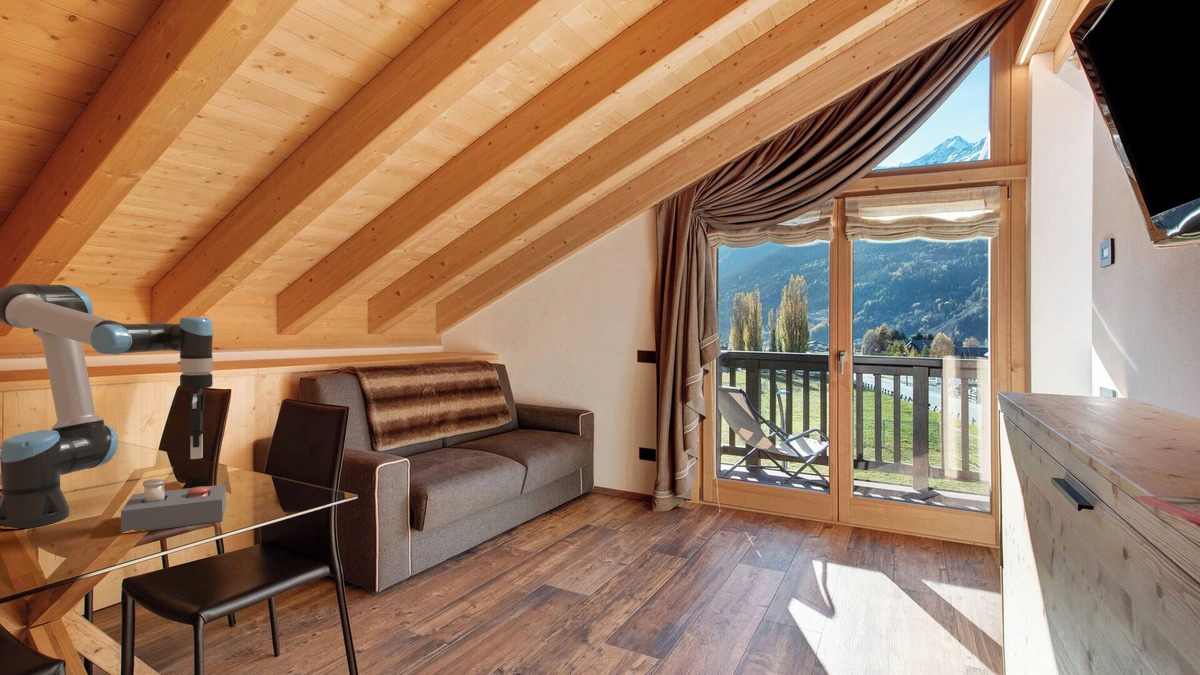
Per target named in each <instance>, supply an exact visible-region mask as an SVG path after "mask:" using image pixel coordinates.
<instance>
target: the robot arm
mask: <svg viewBox="0 0 1200 675" xmlns="http://www.w3.org/2000/svg"><path fill="white" fill-rule="evenodd" d="M93 312H94V307H93V302H92V300H91V298H90V297H89V296H88V294H87V293H86V292H85V291H83V290H82V289H80V288H79V287H75V286H71V285H63V284H37V283H36V284H33V283H28V284H27V283H14V284H9V285H7V286H3V287H2V288H0V323H2V324H4V325H7V326H9V327H12V328H13V327H14V328H17V329H22V330H23V329H31V328H32V332H33V335H34V336H36V337H38V338H40V339H41V343H42V347H43V352H44V357H45V363H46V369H47V373H48V378H49V384H50V388H51V393H52V399H53V400H52V401H53V404H54V411H55V415H56V419H57V420H56V422H55V423H54V424H53V425H52V427H51V429H44V430H43V429H42V430H41V429H40V430H36V431H29V432H24V433H19V434H16V435H14V436H11V437H9V438H7V439H5V440H4V441H3V442H2V444H1V445H0V477H1V479H0V480H1V485H0V486H1V497H0V526H4V527H11V528H12V527H13V528H25V529H30V528H37V527H42V526H46V525H50V524H53V523H56V522H60V521H62V520H64V519H66V518H68V517H69V516H70V505H69V504H68V500H67V499H66V497H65V495H64V493H63V491H62V488H61V476H63V475H67V474H71V473H76V472H79V471H80V472H81V471H83V470H87V469H88V470H89V469H94V468H96V467H98V466H102V465H104V464H107V463H108V462H109V461H111V460H112V459H113V458H114V456H115V455H116V453H117V450H118V446H119V438H118V434H117V432H116V430H114V429H113V427H111V426H110V425H107V424H105V421H104V418H103V417H100V416H99V415H97V414H96V410H95V403H94V398H93V394H92V388H91V383H90V379H89V372H88V369H87V362H86V356H85V351H84V346H83V344H85V345H86V344H87V345H89V346H91V347H92V349H94V350H95V351H96V352H97V353H98V354H103V355H120V354H131V353H132V354H133V353H134V354H135V353H146V352H147V353H148V352H158V351H159V352H161V351H162V352H163V351H169V352H170V351H173V352H175V351H177V352H179V361H177V363H176V364H177V365H178V366H179V370H180V373H182V374H180V376H179V386H180V388H181V389H185V390H187V389H189V391H190V393H188V395H187V396H186V399H187V400H186V401H187V402H188V404H187V405H188V406H187V407H188V410H187V411H188V412H189V413H188V414H189V415H188V416H189V432H188V433H187V436H188V437H190V438H189V439H190V440H189V441H190V450H189V451H190V460H198V459H203V457H204V456H203V455H204V454H203V453H204V451H203V449H204V448H203V446H204V445H203V442H204V441H203V440H204V439H203V435H204V434H206V430H204V409H205V400H206V393H203V389H208V388H211V387H213V385H214V384H213V374H212V372H213V371H214V368H213V367H214V365H213V364H214V362H213V361H214V357H213V341H214V340H213V336H214V331H213V321H212V319H211V318H210V317H202V316H201V317H199V316H195V317H194V316H189V317H188V316H187V317H181V318H179V323H167V322H150V323H122V322H118V321H114V320H112V319H107V318H104V317H101V316H97V315H94V314H93Z"/></svg>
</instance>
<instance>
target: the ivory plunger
mask: <svg viewBox="0 0 1200 675" xmlns="http://www.w3.org/2000/svg"><path fill="white" fill-rule="evenodd" d="M166 482H167V481H166V479H165V478H152V479H151V478H150V479H146V480H143V482H142V486H143V493H144V498H145V503H149V502H158V501H165V492H164V491H165V484H166Z"/></svg>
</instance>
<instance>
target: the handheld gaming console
mask: <svg viewBox="0 0 1200 675" xmlns="http://www.w3.org/2000/svg"><path fill="white" fill-rule="evenodd" d="M211 482H212V481H211V480H210V479H205V478H203V477H197V476H193V475H191V476H190V477H189V478H188V479H187V481H185V484H184V485H183V486H182V488H181V489H188V488H194V487H203V486H205V487H206V486H210V484H211Z"/></svg>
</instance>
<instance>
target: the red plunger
mask: <svg viewBox="0 0 1200 675" xmlns="http://www.w3.org/2000/svg"><path fill="white" fill-rule="evenodd" d="M208 491H209V487H205V486H203V487H194V488H191V489H188V494H189V498H194V497H203V496H208Z"/></svg>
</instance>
